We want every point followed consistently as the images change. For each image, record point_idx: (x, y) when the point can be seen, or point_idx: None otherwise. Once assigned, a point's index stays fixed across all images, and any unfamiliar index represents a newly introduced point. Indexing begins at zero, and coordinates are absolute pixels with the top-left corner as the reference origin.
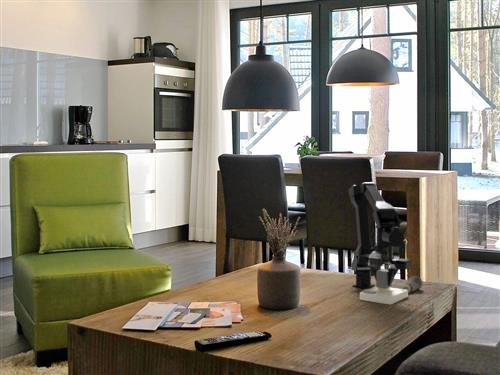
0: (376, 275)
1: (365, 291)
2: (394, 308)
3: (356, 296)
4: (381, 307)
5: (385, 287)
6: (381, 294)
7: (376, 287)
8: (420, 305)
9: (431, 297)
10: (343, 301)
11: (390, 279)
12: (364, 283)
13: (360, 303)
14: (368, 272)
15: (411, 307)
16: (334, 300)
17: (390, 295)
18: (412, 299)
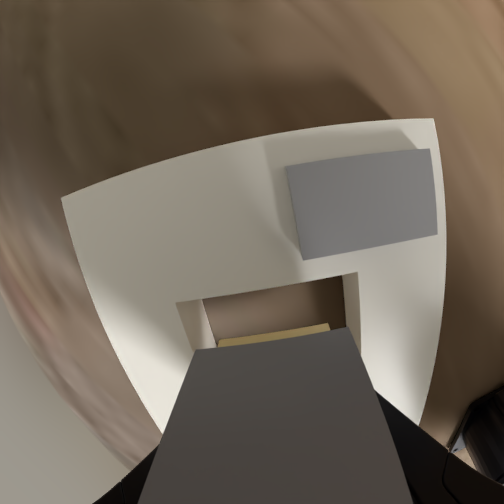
0: (400, 470)
1: (396, 150)
2: (34, 131)
3: (469, 206)
4: (96, 66)
5: (207, 357)
6: (197, 227)
7: (405, 404)
8: (23, 315)
9: (127, 458)
10: (425, 7)
11: (142, 468)
12: (492, 415)
13: (299, 20)
14: (497, 472)
15: (9, 241)
16: (469, 9)
17: (110, 263)
18: (133, 403)
